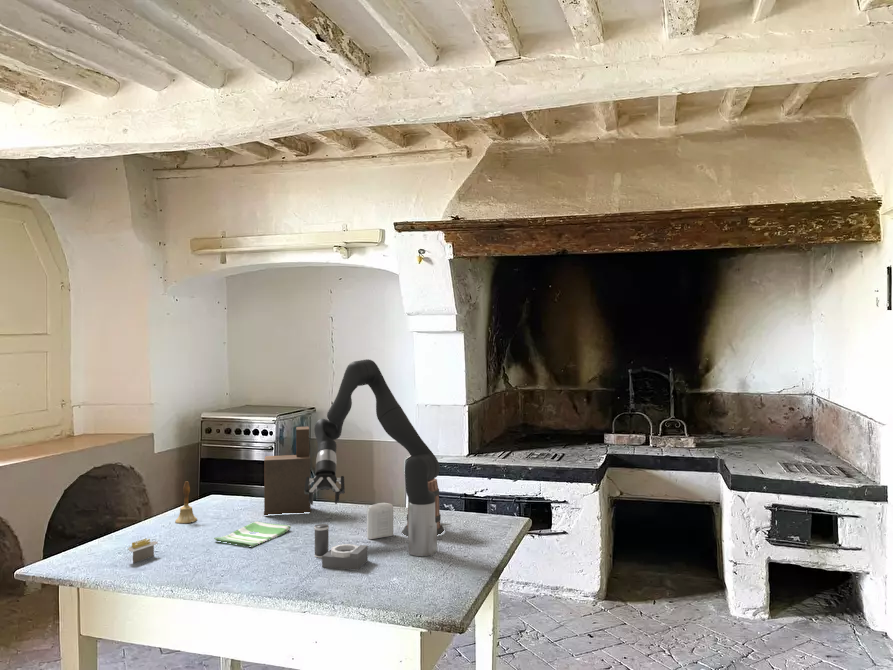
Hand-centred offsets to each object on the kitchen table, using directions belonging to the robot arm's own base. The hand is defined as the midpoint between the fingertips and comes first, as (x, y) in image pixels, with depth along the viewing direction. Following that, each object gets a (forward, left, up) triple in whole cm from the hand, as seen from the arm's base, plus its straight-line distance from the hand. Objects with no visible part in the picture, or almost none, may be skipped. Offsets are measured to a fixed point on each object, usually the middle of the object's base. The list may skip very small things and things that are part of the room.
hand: (323, 503), depth 231 cm
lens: (-4, +11, -15) cm, 19 cm away
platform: (+53, +28, -16) cm, 62 cm away
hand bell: (+68, -17, -15) cm, 72 cm away
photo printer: (-16, -14, -15) cm, 26 cm away
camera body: (-15, +17, -15) cm, 27 cm away
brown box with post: (+34, -40, -15) cm, 55 cm away
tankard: (-30, -27, -15) cm, 43 cm away
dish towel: (+30, -4, -16) cm, 34 cm away
